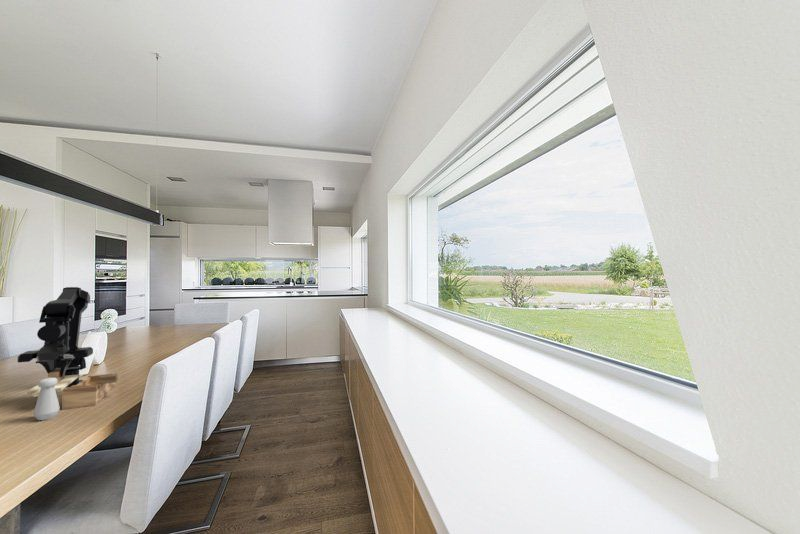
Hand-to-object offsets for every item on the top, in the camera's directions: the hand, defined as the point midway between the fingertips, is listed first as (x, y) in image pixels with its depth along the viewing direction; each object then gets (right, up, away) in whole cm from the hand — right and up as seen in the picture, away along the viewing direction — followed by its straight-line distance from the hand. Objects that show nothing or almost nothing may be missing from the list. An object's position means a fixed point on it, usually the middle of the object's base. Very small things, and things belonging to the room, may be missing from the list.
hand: (56, 377), depth 120 cm
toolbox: (+10, -9, +4) cm, 14 cm away
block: (+18, -3, +2) cm, 18 cm away
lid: (+1, -4, -3) cm, 5 cm away
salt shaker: (+12, -9, -14) cm, 21 cm away
